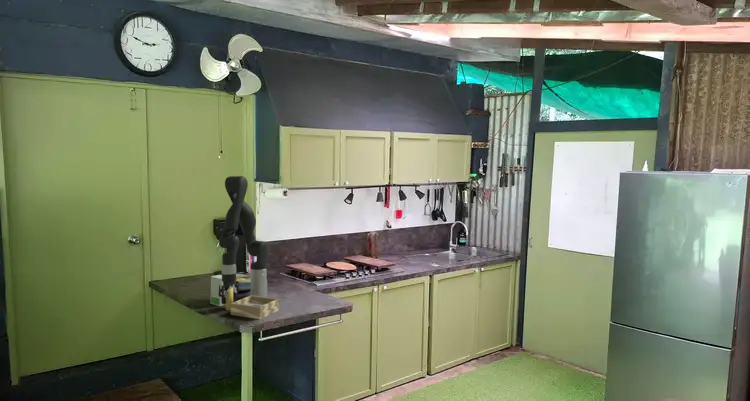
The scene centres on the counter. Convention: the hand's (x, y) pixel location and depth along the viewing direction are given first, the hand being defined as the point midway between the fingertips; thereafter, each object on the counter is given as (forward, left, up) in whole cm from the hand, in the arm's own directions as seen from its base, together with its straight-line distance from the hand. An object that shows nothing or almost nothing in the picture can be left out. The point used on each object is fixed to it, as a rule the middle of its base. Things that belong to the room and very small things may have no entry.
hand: (228, 302), depth 279 cm
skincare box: (-6, -11, -4) cm, 13 cm away
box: (-1, +16, -4) cm, 17 cm away
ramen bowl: (-39, -19, -4) cm, 44 cm away
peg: (0, 0, -4) cm, 4 cm away
